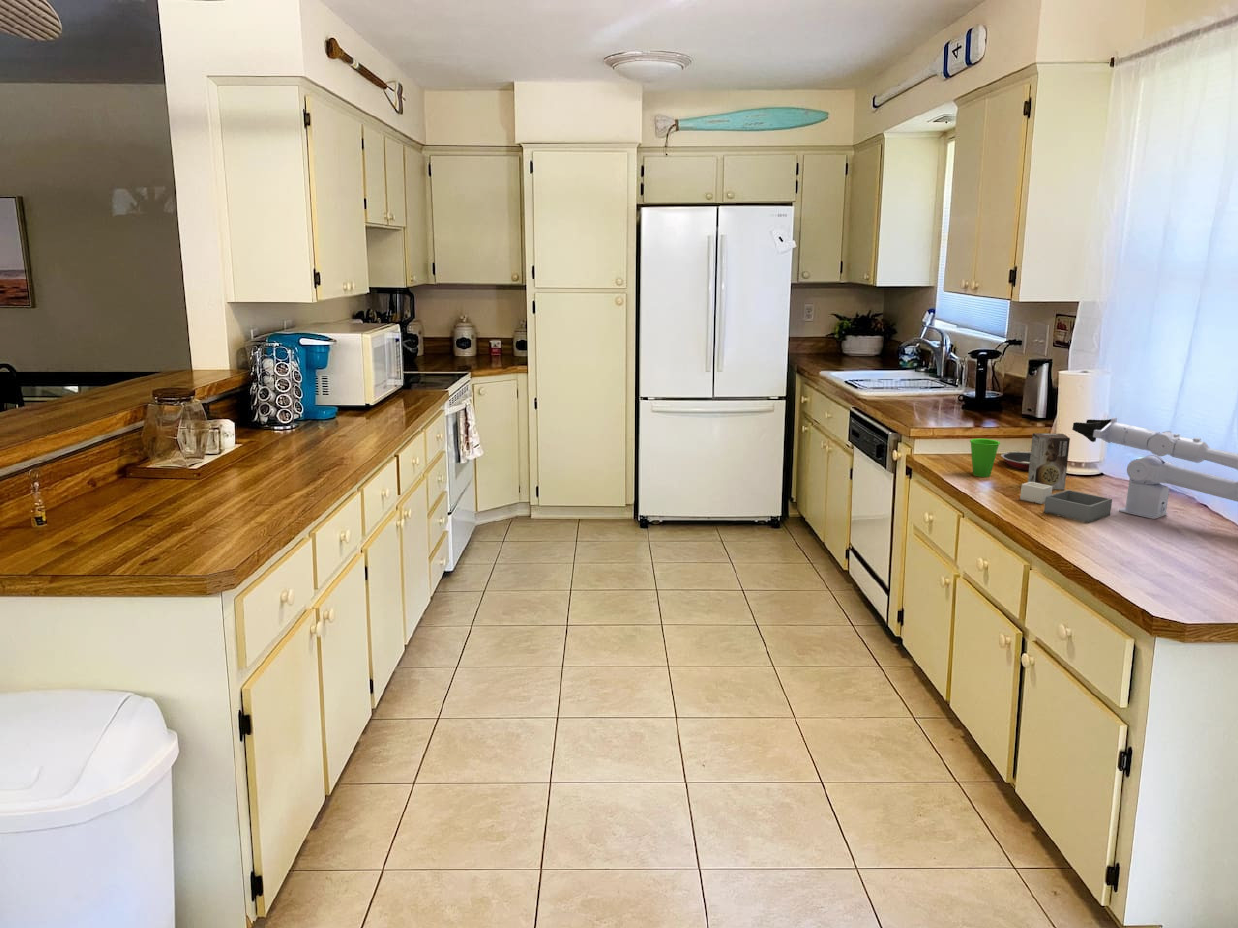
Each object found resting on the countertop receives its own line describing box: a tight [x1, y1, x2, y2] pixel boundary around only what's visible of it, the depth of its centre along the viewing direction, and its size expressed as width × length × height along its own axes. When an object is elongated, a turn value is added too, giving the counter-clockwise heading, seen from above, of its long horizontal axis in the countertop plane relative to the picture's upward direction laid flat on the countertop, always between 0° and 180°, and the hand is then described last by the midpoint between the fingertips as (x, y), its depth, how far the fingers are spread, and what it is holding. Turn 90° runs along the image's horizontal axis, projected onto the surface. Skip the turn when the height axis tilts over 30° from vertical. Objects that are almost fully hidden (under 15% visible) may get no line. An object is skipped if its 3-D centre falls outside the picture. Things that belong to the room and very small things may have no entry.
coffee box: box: [1027, 432, 1071, 491], centre depth 281 cm, size 9×6×16 cm
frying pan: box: [1000, 451, 1031, 472], centre depth 302 cm, size 19×32×4 cm, turn 177°
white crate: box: [1019, 481, 1053, 505], centre depth 267 cm, size 6×5×4 cm
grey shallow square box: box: [1043, 489, 1113, 524], centre depth 254 cm, size 12×12×4 cm
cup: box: [969, 438, 1001, 478], centre depth 295 cm, size 9×9×11 cm
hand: (1080, 424), depth 265 cm, fingers open, 7 cm apart
